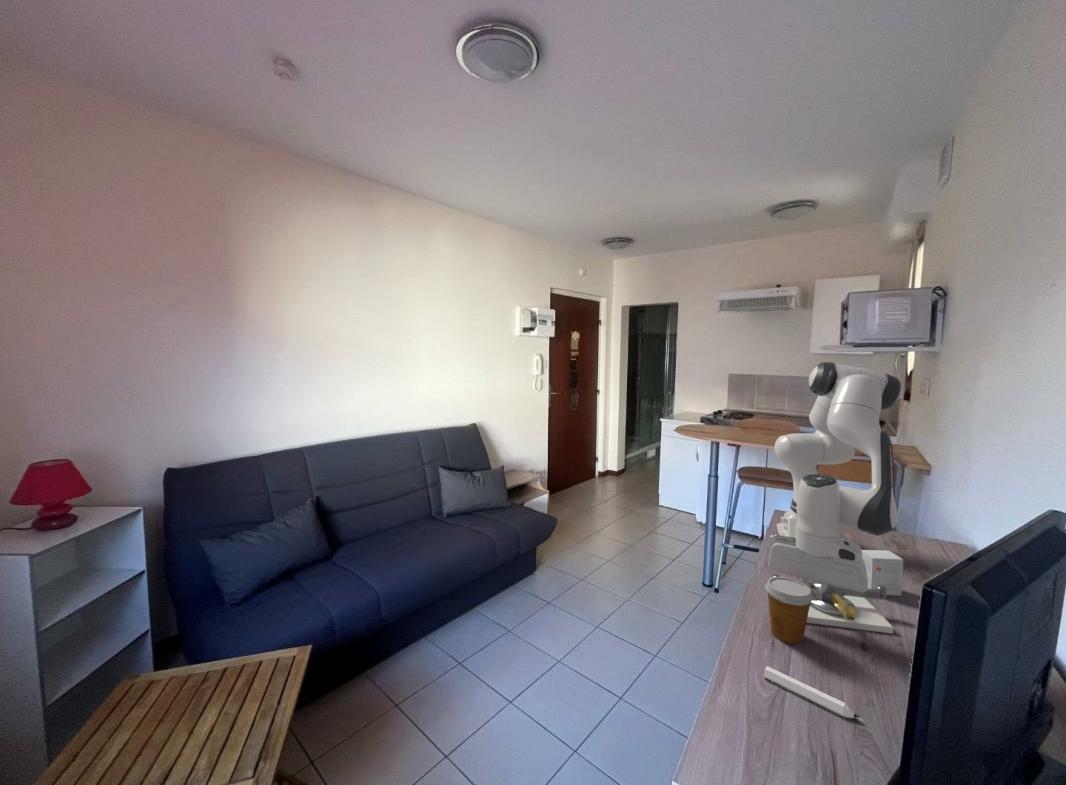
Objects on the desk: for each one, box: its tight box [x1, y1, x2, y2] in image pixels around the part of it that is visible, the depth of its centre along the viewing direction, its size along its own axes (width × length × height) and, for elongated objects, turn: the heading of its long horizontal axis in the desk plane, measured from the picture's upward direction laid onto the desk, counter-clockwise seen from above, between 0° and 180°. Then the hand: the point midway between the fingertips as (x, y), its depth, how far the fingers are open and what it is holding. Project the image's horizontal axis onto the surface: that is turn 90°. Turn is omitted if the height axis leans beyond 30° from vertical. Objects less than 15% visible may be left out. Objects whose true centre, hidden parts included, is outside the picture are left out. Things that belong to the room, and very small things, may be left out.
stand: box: [806, 596, 894, 634], centre depth 111 cm, size 18×20×4 cm
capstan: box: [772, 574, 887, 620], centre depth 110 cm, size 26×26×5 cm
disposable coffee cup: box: [764, 576, 813, 645], centre depth 99 cm, size 10×10×12 cm
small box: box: [861, 549, 904, 597], centre depth 118 cm, size 8×6×10 cm
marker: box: [763, 665, 864, 722], centre depth 81 cm, size 3×2×16 cm
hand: (814, 597), depth 104 cm, fingers closed
